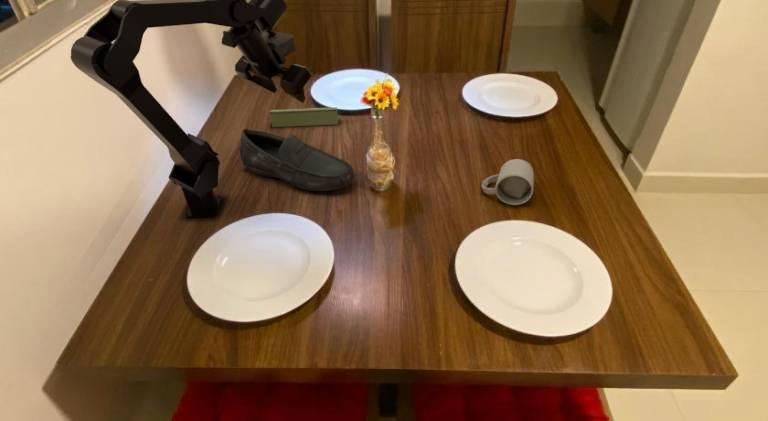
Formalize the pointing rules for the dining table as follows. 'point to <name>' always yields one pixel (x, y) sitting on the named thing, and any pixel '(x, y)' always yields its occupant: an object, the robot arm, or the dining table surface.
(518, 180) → the ceramic mug
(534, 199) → the dining table surface
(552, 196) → the dining table surface
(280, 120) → the rail
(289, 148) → the loafer
